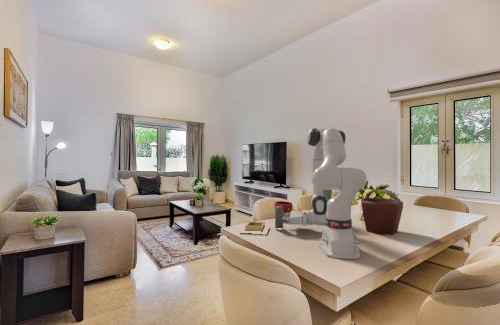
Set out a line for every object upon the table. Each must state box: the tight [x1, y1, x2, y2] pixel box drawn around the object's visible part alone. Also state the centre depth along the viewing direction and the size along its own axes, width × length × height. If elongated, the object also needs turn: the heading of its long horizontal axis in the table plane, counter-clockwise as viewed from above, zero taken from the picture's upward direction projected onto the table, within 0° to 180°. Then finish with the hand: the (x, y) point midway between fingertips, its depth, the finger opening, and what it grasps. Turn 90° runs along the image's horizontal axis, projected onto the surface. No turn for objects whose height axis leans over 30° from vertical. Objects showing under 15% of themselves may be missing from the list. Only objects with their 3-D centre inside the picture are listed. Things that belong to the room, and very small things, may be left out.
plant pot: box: [274, 200, 293, 217], centre depth 183 cm, size 13×13×12 cm
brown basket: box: [360, 189, 404, 236], centre depth 150 cm, size 24×22×25 cm
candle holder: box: [244, 221, 266, 232], centre depth 151 cm, size 16×16×4 cm
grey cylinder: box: [274, 205, 284, 229], centre depth 155 cm, size 5×5×14 cm
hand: (282, 216), depth 154 cm, fingers open, 8 cm apart
